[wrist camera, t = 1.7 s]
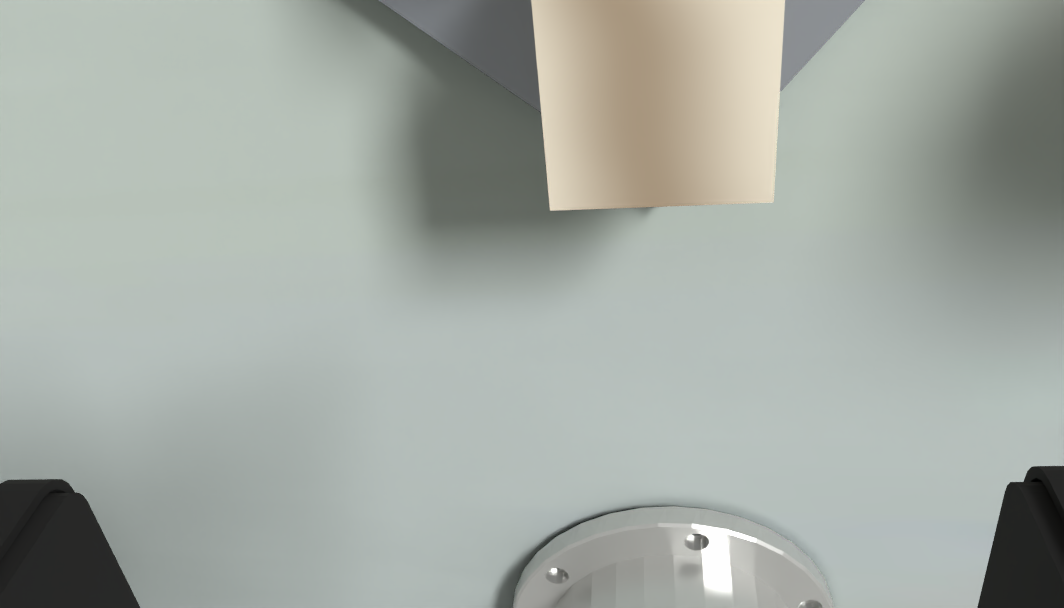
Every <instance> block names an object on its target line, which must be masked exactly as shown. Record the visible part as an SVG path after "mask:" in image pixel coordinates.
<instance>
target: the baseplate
mask: <svg viewBox="0 0 1064 608" xmlns="http://www.w3.org/2000/svg"><path fill="white" fill-rule="evenodd" d="M379 1H380V2H381V3H383V4H384V5H386V6H387V7H389V8H390V9H392V10H393V11H394V12H396V13H397V14H399V15H400V16H402V17H403V18H405V19H406V20H407V21H409V22H410V23H412V24H413V25H415V26H416V27H418V28H419V29H421V30H422V31H423V32H425V33H426V34H428V35H429V36H431V37H432V38H434V39H435V40H436V41H438V42H439V43H441V44H442V45H444V46H445V47H447V48H448V49H449V50H451V51H452V52H454V53H455V54H457V55H458V56H460V57H461V58H462V59H464V60H465V61H467V62H468V63H470V64H471V65H473V66H474V67H475V68H477V69H478V70H480V71H481V72H483V73H484V74H486V75H487V76H488V77H490V78H491V79H493V80H494V81H496V82H497V83H499V84H500V85H501V86H503V87H504V88H506V89H507V90H509V91H510V92H512V93H513V94H514V95H516V96H517V97H519V98H520V99H522V100H523V101H525V102H526V103H527V104H529V105H530V106H532V107H533V108H535V109H536V110H538V111H539V112H540V113H541V104H540V93H539V82H538V70H537V59H536V48H535V37H534V25H533V14H532V3H531V0H379ZM864 1H865V0H785V11H784V29H783V46H782V64H781V81H780V92H781V91H782V90H783V89H784V88H785V86H786V85H787V84H788V83H789V82H790V81H791V80H792V79H793V78H794V77H795V76H796V75H797V73H798V72H799V71H800V70H801V69H802V68H803V67H804V66H805V65H806V64H807V63H808V61H809V60H810V59H811V58H812V57H813V56H814V55H815V54H816V53H817V52H818V51H819V50H820V48H821V47H822V46H823V45H824V44H825V43H826V42H827V41H828V40H829V39H830V38H831V37H832V35H833V34H834V33H835V32H836V31H837V30H838V29H839V28H840V27H841V26H842V25H843V24H844V22H845V21H846V20H847V19H848V18H849V17H850V16H851V15H852V14H853V13H854V12H855V10H856V9H857V8H858V7H859V6H860V5H861V4H862V3H863V2H864Z"/></svg>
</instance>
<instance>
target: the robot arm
mask: <svg viewBox="0 0 1064 608" xmlns="http://www.w3.org/2000/svg"><path fill="white" fill-rule="evenodd" d="M0 608H140V606H139V604H138V602H137V600H136V598H135V596H134V594H133V592H132V590H131V588H130V586H129V584H128V582H127V580H126V578H125V576H124V574H123V572H122V570H121V568H120V566H119V564H118V562H117V560H116V558H115V556H114V554H113V552H112V550H111V548H110V546H109V544H108V542H107V540H106V538H105V536H104V534H103V532H102V530H101V528H100V526H99V524H98V522H97V520H96V518H95V516H94V514H93V512H92V510H91V508H90V506H89V504H88V502H87V500H86V499H85V497H84V496H83V495H81V494H80V493H75V492H74V490H73V489H72V487H71V486H70V485H69V483H67V482H65V481H64V480H60V479H47V480H7V481H5V482H3V483H1V484H0ZM513 608H834V606H833V600H832V596H831V594H830V591H829V588H828V585H827V583H826V580H825V578H824V576H823V575H822V574H821V572H820V571H819V569H818V568H817V566H816V565H815V564H814V562H813V561H812V559H810V558H809V557H808V556H807V555H806V554H805V553H804V552H803V551H802V550H800V549H799V548H798V547H797V546H796V545H795V544H794V543H793V542H791V541H789V540H788V539H786V538H784V537H783V536H781V535H779V534H778V533H776V532H774V531H773V530H771V529H769V528H767V527H765V526H762V525H760V524H757V523H755V522H752V521H749V520H747V519H744V518H742V517H739V516H735V515H730V514H726V513H722V512H717V511H713V510H709V509H700V508H689V507H677V506H668V507H646V508H637V509H632V510H626V511H621V512H616V513H610V514H607V515H604V516H601V517H598V518H595V519H592V520H589V521H586V522H584V523H581V524H579V525H577V526H575V527H573V528H571V529H570V530H568V531H566V532H564V533H562V534H560V535H558V536H557V537H555V538H554V539H553V540H552V541H550V542H549V543H548V544H547V545H546V546H544V547H543V548H542V549H541V550H539V551H538V552H537V553H536V555H535V556H534V557H533V558H532V560H531V561H530V562H529V563H528V565H527V566H526V567H525V569H524V570H523V572H522V574H521V577H520V579H519V581H518V584H517V586H516V588H515V595H514V602H513ZM978 608H1064V466H1036V467H1031V468H1030V469H1029V470H1028V471H1027V474H1026V477H1025V479H1024V482H1010V483H1009V484H1008V485H1007V488H1006V491H1005V494H1004V498H1003V503H1002V507H1001V511H1000V515H999V519H998V524H997V528H996V532H995V536H994V541H993V545H992V549H991V553H990V557H989V562H988V566H987V570H986V574H985V578H984V583H983V587H982V591H981V595H980V599H979V604H978Z"/></svg>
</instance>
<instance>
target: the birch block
mask: <svg viewBox="0 0 1064 608" xmlns="http://www.w3.org/2000/svg"><path fill="white" fill-rule="evenodd" d="M531 3H532V14H533V25H534V37H535V48H536V59H537V70H538V82H539V93H540V104H541V116H542V127H543V138H544V149H545V161H546V172H547V183H548V194H549V206H550V211H556V210H583V209H609V208H636V207H663V206H690V205H717V204H744V203H770V202H774V186H775V169H776V151H777V134H778V116H779V99H780V81H781V64H782V46H783V29H784V11H785V0H531Z"/></svg>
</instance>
